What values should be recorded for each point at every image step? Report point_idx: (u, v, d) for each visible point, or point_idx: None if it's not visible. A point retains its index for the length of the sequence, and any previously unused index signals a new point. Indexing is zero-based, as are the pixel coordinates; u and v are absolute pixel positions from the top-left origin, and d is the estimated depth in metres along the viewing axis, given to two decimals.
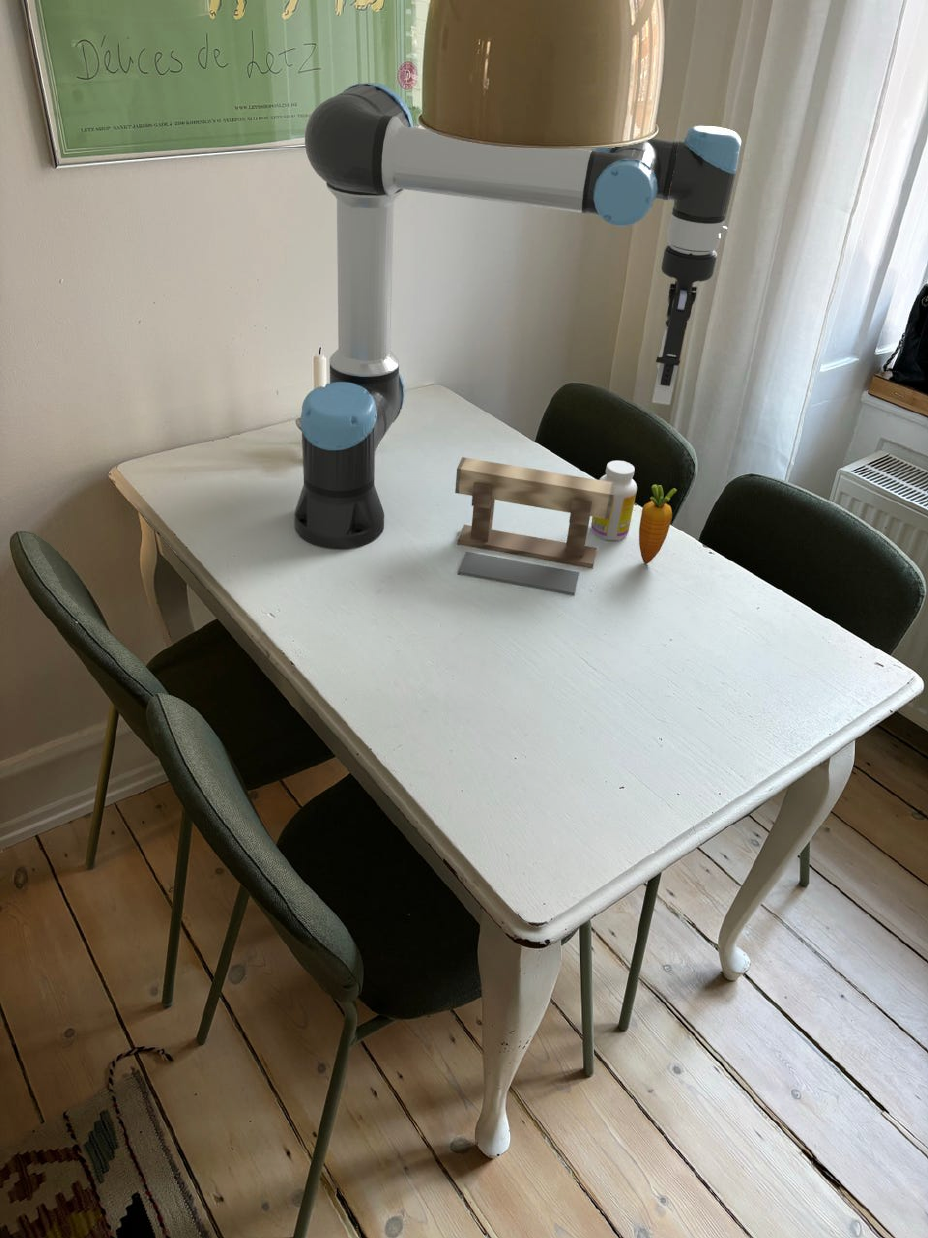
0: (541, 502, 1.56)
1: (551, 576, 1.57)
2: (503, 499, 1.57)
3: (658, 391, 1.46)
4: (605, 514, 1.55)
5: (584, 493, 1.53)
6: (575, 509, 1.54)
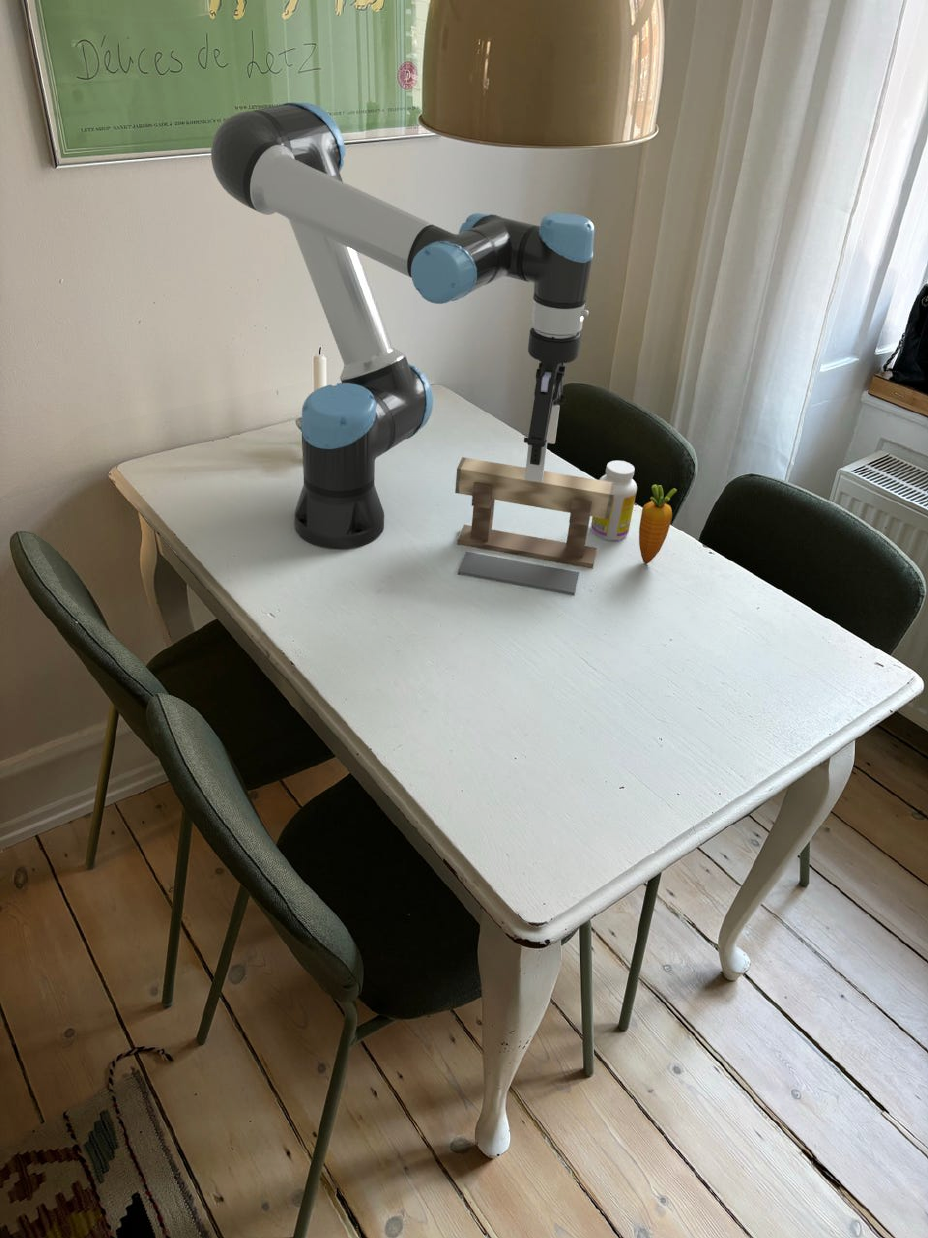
0: (541, 502, 1.56)
1: (551, 576, 1.57)
2: (503, 499, 1.57)
3: (529, 469, 1.47)
4: (605, 514, 1.55)
5: (584, 493, 1.53)
6: (575, 509, 1.54)
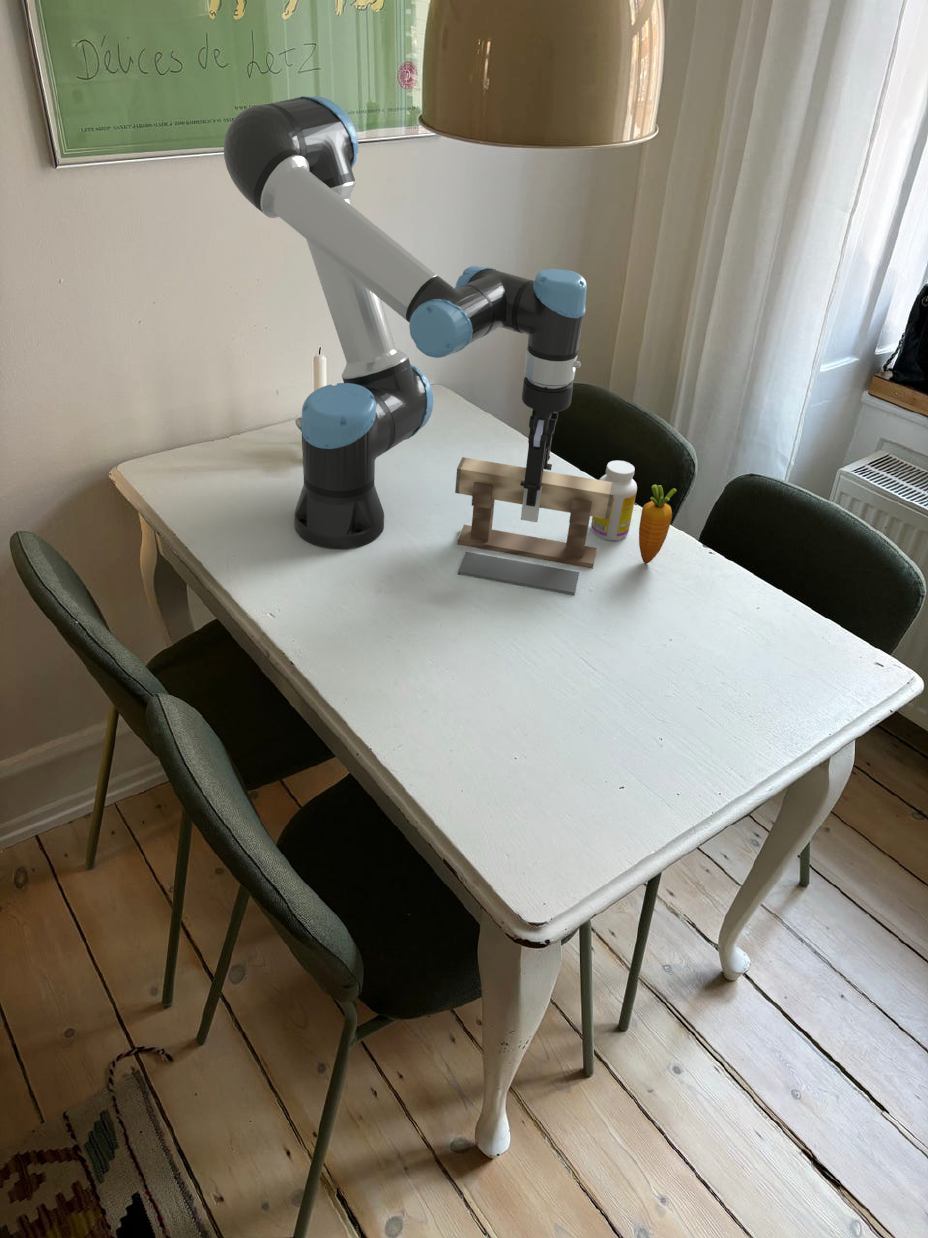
0: (541, 502, 1.56)
1: (551, 576, 1.57)
2: (503, 499, 1.57)
3: (525, 510, 1.57)
4: (605, 514, 1.55)
5: (584, 493, 1.53)
6: (575, 509, 1.54)
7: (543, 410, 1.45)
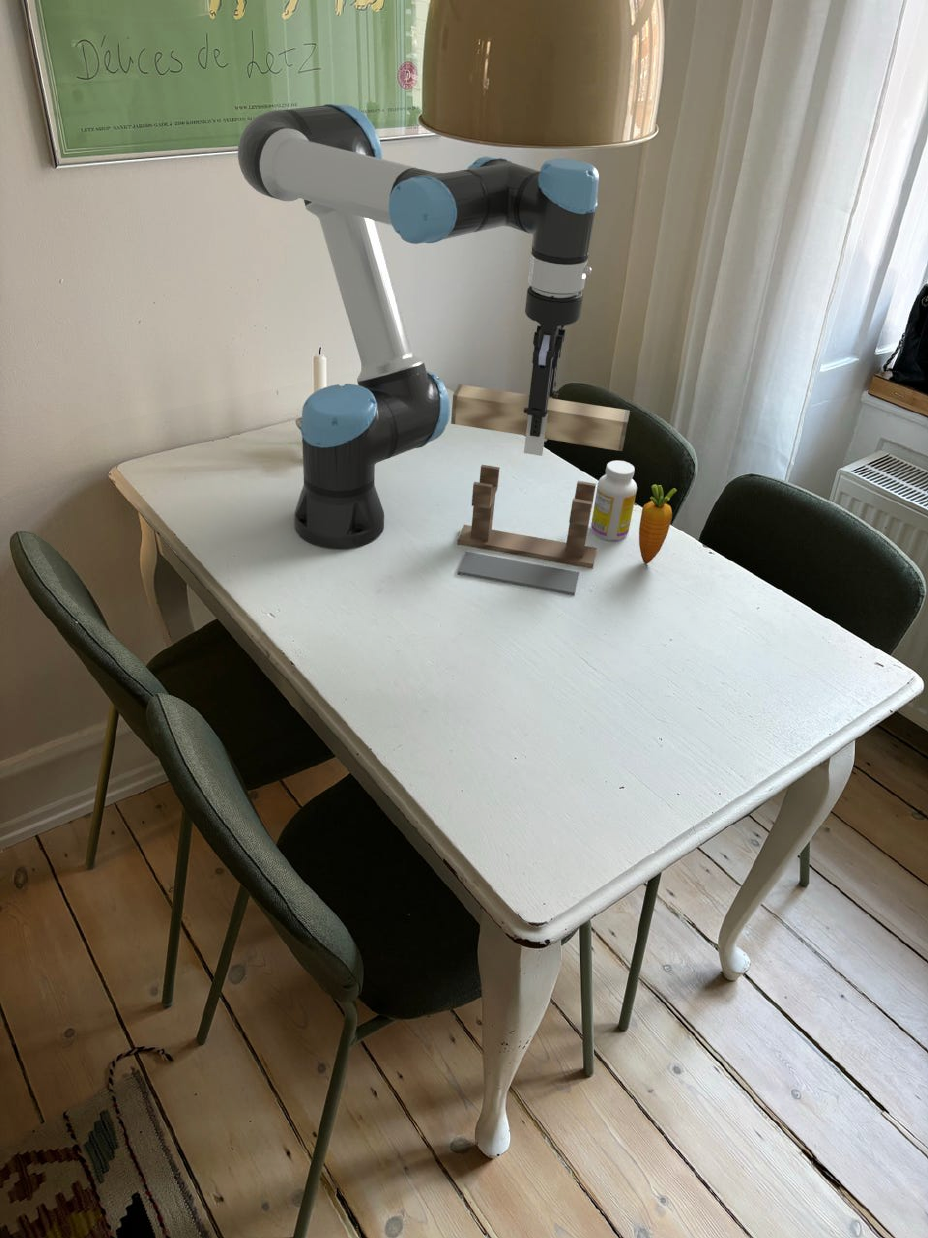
0: (546, 432, 1.40)
1: (551, 576, 1.57)
2: (504, 429, 1.41)
3: (528, 441, 1.41)
4: (618, 445, 1.39)
5: (595, 420, 1.38)
6: (575, 509, 1.54)
7: (549, 323, 1.29)
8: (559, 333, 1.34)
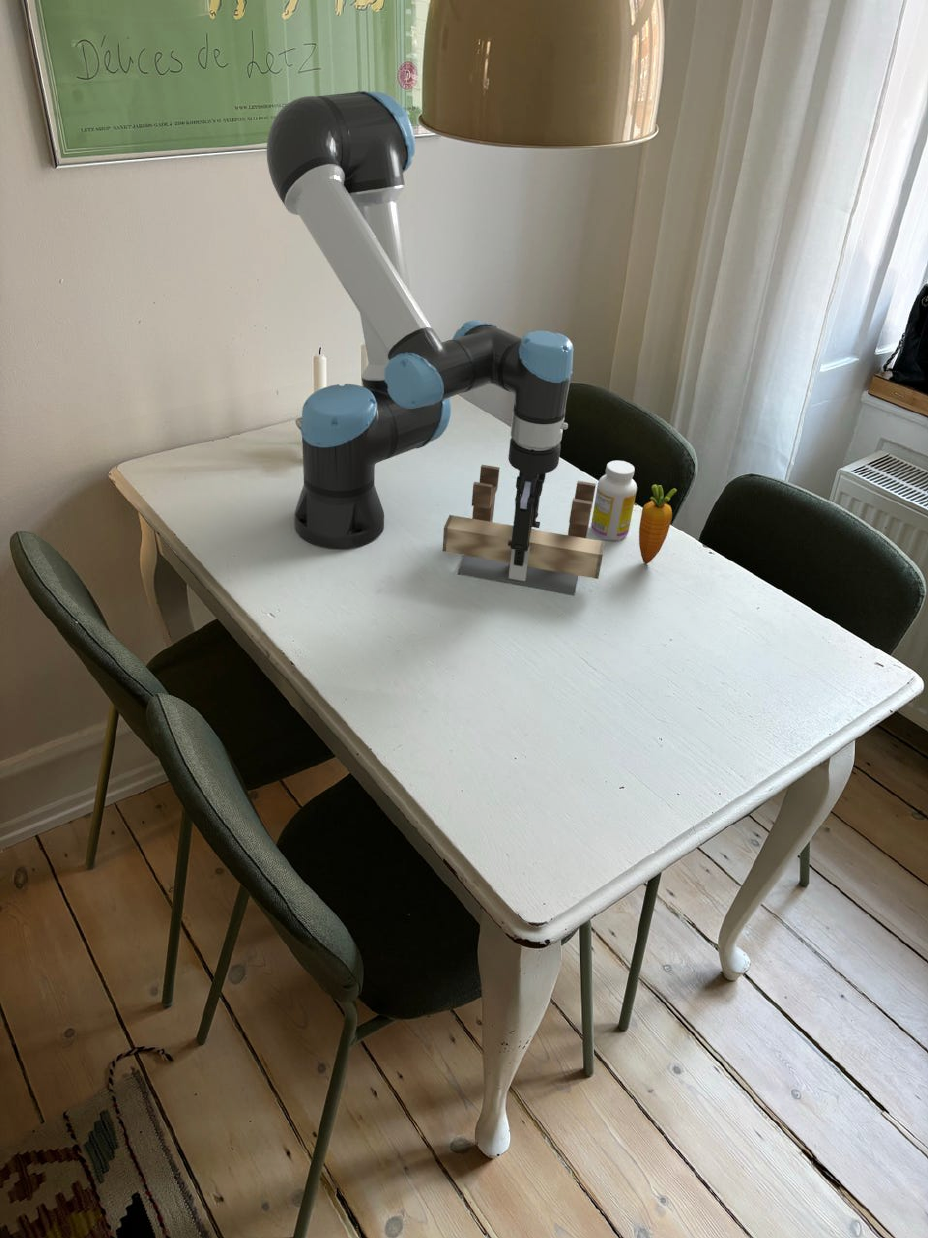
0: (529, 561, 1.54)
1: (551, 576, 1.57)
2: (491, 558, 1.55)
3: (513, 569, 1.54)
4: (594, 574, 1.52)
5: (573, 553, 1.51)
6: (575, 509, 1.54)
7: (530, 472, 1.42)
8: (540, 476, 1.47)
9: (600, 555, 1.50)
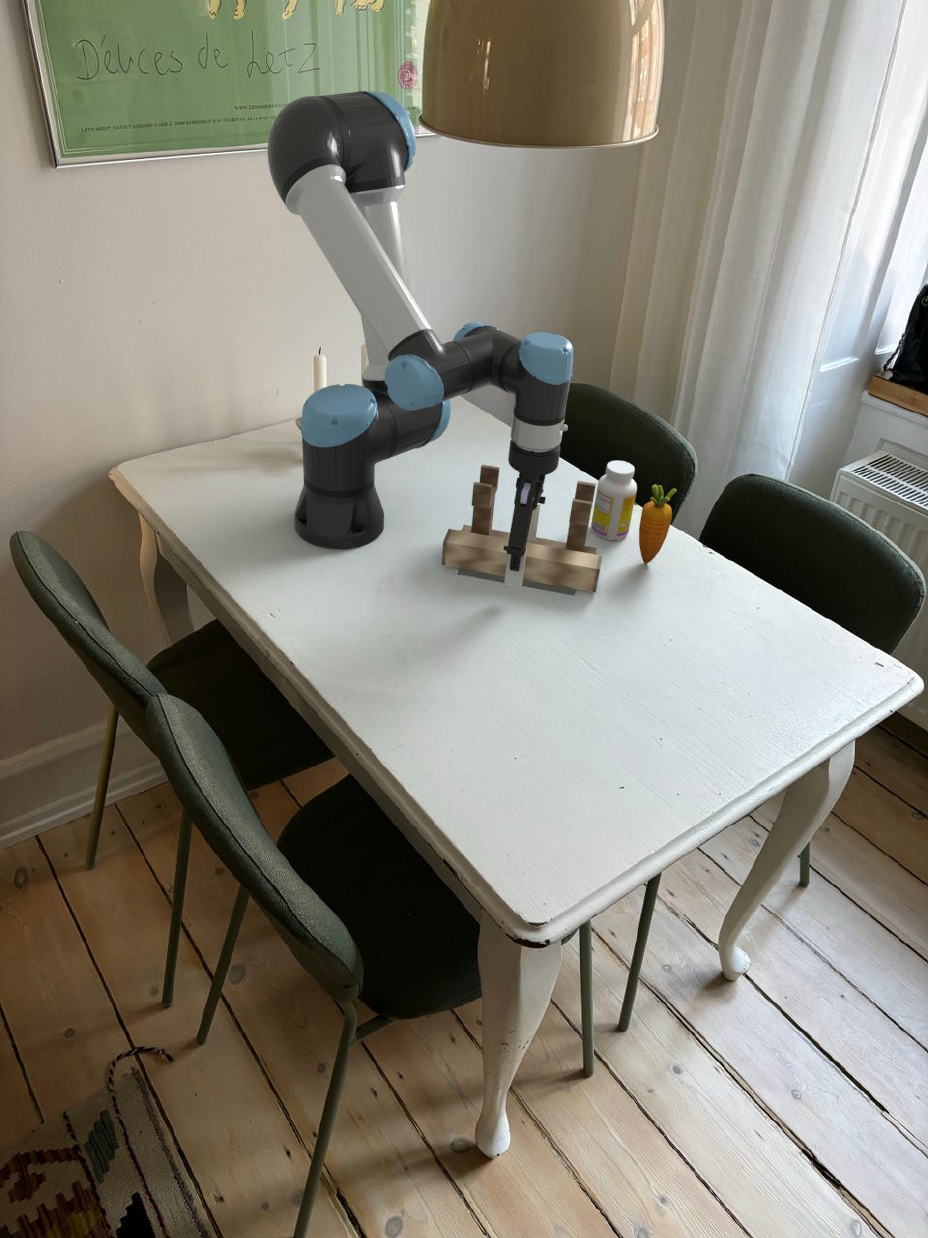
0: (527, 575, 1.55)
1: None
2: (489, 571, 1.56)
3: (508, 574, 1.50)
4: (592, 588, 1.54)
5: (570, 567, 1.53)
6: (575, 509, 1.54)
7: None
8: (539, 479, 1.48)
9: (598, 569, 1.52)
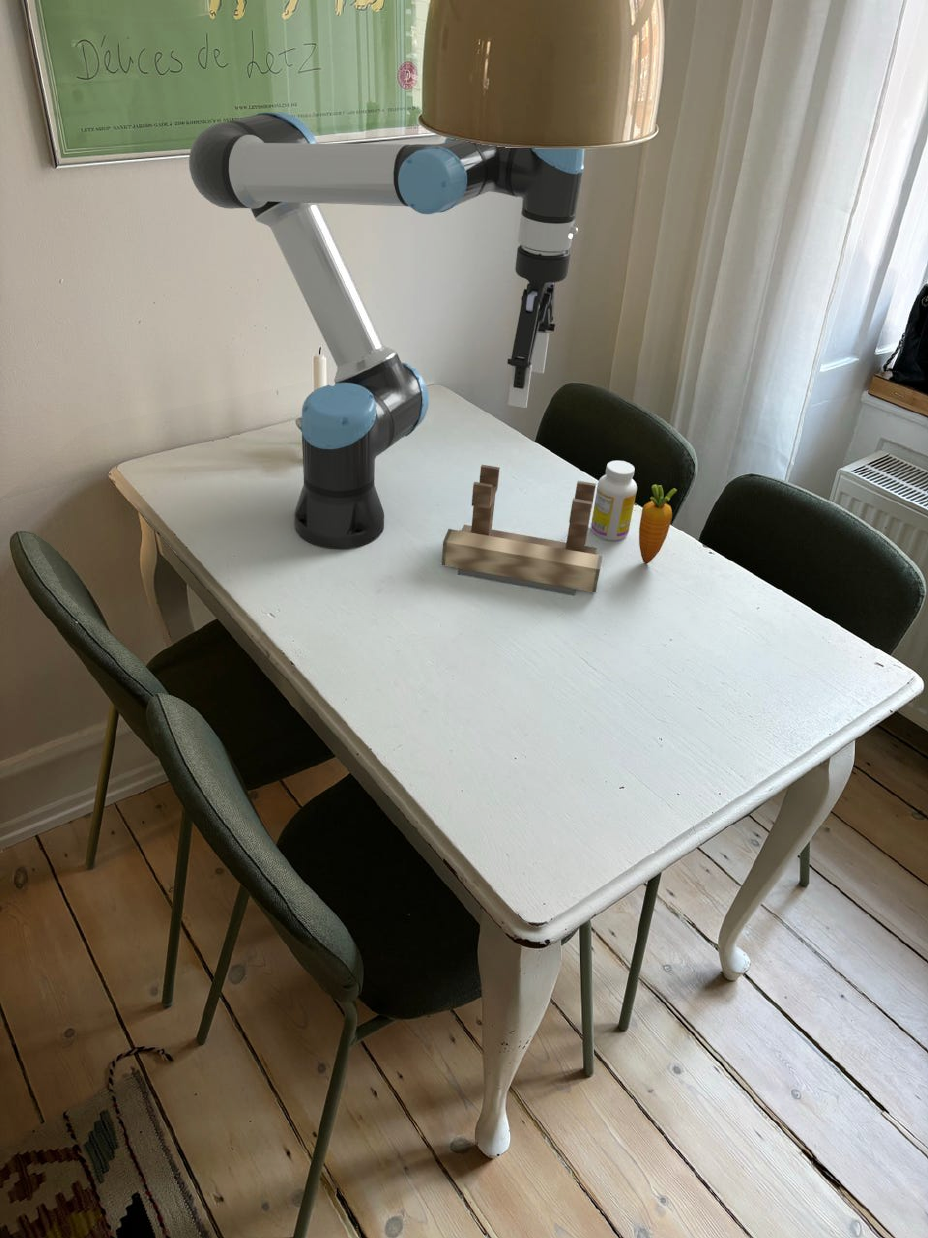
0: (527, 575, 1.55)
1: None
2: (489, 571, 1.56)
3: (513, 393, 1.44)
4: (592, 588, 1.54)
5: (570, 567, 1.53)
6: (575, 509, 1.54)
7: None
8: None
9: (598, 569, 1.52)
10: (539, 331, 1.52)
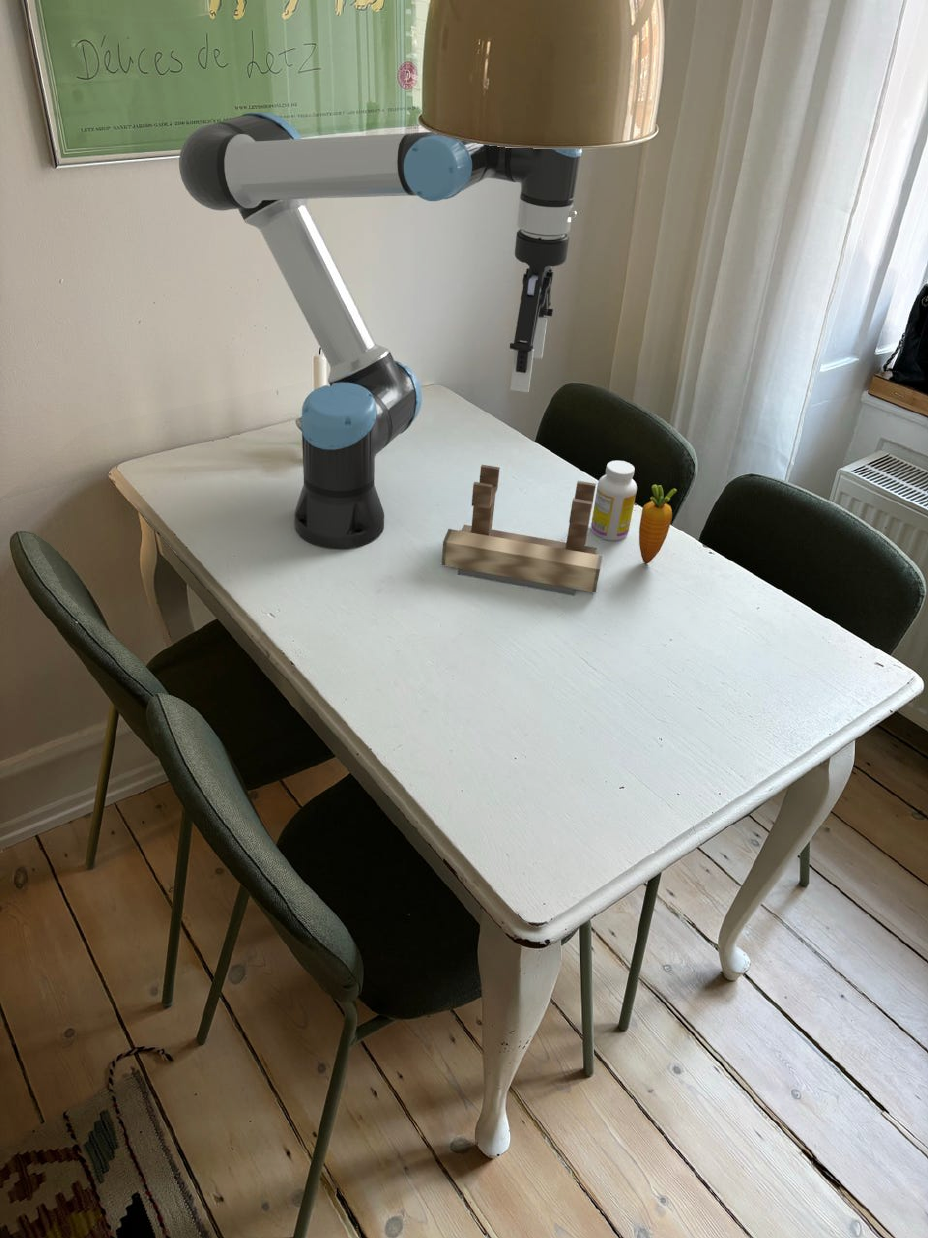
0: (527, 575, 1.55)
1: None
2: (489, 571, 1.56)
3: (515, 378, 1.45)
4: (592, 588, 1.54)
5: (570, 567, 1.53)
6: (575, 509, 1.54)
7: None
8: None
9: (598, 569, 1.52)
10: (537, 316, 1.53)
